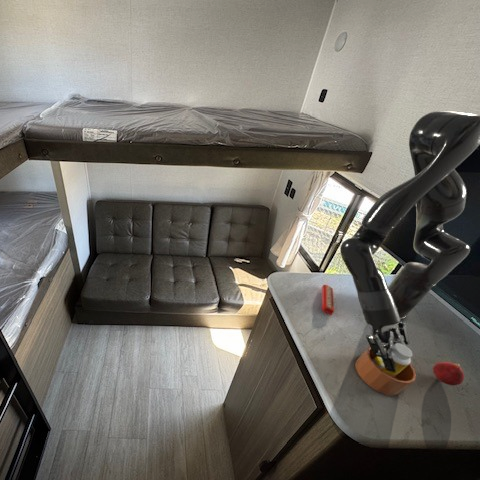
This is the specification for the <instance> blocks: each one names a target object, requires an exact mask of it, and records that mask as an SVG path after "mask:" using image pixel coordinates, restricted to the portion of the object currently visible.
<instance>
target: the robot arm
mask: <svg viewBox="0 0 480 480" xmlns="http://www.w3.org/2000/svg"><path fill="white" fill-rule="evenodd" d="M479 146H480V114H475V113H468V112H467V113H465V112H457V111H445V110H439V111H432V112H428V113H426V114H424V115H423V116H421V117H420V118H419V119H418V120H417V121H416V123H415V124H414V125H413V126H412V129H411V131H410V134H409V137H408V148H409V153H410V157H411V162H412V167H413V172H414V176H412V177H411V178H409V179H407V180H406V181H404V182H402V183H400V184H398V185H397V186H395V187H393V188H391V189H390V190H388V191H387V192H385V193H383V194H382V195H380V197H379V198H378V199H377V200H376V201H375V202H374V203H373V205H371V207H370V209H369V210H368V211H367V213H366V214H365V215H364V216H363V218H362V220H361V225H360V227H358V229H357V230H356V232H354V234H353V235H352V237H349V238H346V239H345V240H343V242H342V243H341V245H340V256H341V258H342V261H343V263H344V265H345V267H346V268H347V270H348V272H349V273H350V275H351V277H352V279H353V280H352V281H353V283H354V286H355V289H356V293H357V299H358V302H359V305H360V308H361V311H362V315H363V317H364V320H365V323H366V324H368V325H370V326H371V329H372V330H371V331H372V334H366V335H365V338H366V341H367V343H368V345H369V346H370V347H371V349H372V352H373V354H374V356H377V357H381V358H382V360H383V363H384V366H385V368H386V370H387V371H391V372H396V371H397V369H396V366H395V364H394V361H393V358H392V352H391V350H392V349H393V345H394V344H395V343H400V344H403V345H405V346H406V347H408V346H409V345H410V344H411V341H410V337H409V333H408V329H407V324H406V323H405V322H403V321H401V320H404V319H405V318H406V317H407V316H408V315H409V314H410V313H411V312H412V310H413V309H415V307H416V306H417V305H418V304H419V303H420V302H421V301H422V300H423V299H424V297H425V296H426V295H427V294H428V293H429V292H430V291H431V290H432V289H433V288H434V287H435V286H436V285H437V284H438V283H439V282H440V281H441V280H443V279H444V278H445V277H446V276H448V275H449V273H451V272H452V271H453V270H454V269H455V268H457V266H458V265H460V264H461V263H462V262H463V261H464V260H465V259H466V258H467V257H468V256H469V254H470V252H471V246H470V245H469V244H467V243H466V242H464V241H462V240H461V239H459V238H456V237H455V236H453V235H451V234H449V233H447V232H446V231H445V230H444V224H447V223H448V222H451V221H453V220H455V219H456V218H457V217H459V216H460V215H461V214H462V213H463V211H464V210H465V207H466V200H467V186H466V184H465V182H464V181H463V178H462V177H461V175H460V174H459V172H457V170H456V168H458V166H460V165H461V164H462V163H463V162H464V161H465V160H466V159H467V158H468V157H469V156H470V155H472V153H473V152H475V150H476V149H478V147H479ZM413 207H415V211H416V218H415V219H416V220H415V221H416V222H415V225H416V227H415V233H414V237H413V250H414V251H415V253H416V254H418V255H419V256H421V257H422V258H424V259H426V260H427V261H428V262H430V263H429V264H426V263H422V262H417V261H409V262H407V263H405V264H404V265H403V267H402V268H401V269H400V270H399V272H398V273H397V274H396V276H395V277H394V278H393V279H392V280H391V282H390V283H389V284H388V283H387V280H386V277H385V275H384V272H383V271H382V270H381V269H380V268H379V267H377V264H376V261H375V259H374V257H373V256H374V255H375V254H376V253H377V251H378V250H379V249H380V247H381V246H382V244H384V242H385V240H386V239H387V237H388V235H390V233H392V231H393V230H395V228H396V227H397V226H398V225H399V224H400V223H401V221H402V220H403V219H404V218H405V217H406V215H407V214H408V213H409V212H410V210H412V209H413ZM386 344H387V345H386ZM384 348H386V351H387V353H386V352H385V350H384ZM377 350H378V351H377Z"/></svg>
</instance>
